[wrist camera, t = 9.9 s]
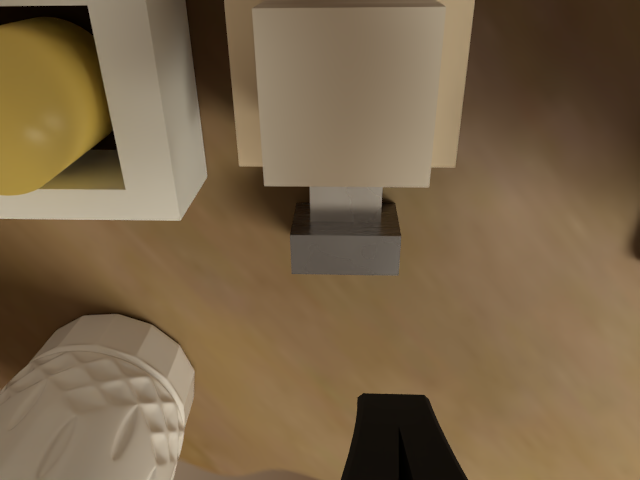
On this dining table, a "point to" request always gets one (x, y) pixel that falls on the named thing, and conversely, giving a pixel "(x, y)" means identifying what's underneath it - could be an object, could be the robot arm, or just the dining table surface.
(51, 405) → the white cup
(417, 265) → the dining table surface
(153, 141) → the frame
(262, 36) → the carriage
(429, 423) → the robot arm
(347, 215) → the gray block handle
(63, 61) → the cylinder
